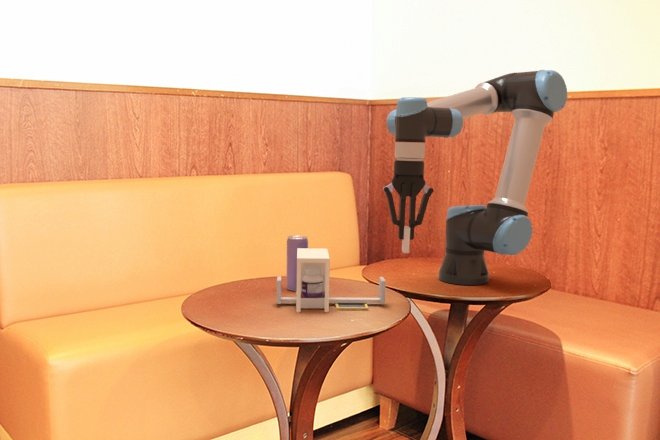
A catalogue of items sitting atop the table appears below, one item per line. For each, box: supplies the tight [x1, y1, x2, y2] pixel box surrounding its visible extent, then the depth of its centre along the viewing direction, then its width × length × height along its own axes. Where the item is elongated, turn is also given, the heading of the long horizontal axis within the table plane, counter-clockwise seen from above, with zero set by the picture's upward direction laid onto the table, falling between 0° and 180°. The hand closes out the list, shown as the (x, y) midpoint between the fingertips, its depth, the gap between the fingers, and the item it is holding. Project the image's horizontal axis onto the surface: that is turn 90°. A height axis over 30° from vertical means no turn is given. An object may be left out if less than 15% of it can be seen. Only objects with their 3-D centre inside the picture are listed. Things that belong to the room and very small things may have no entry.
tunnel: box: [295, 247, 331, 313], centre depth 165 cm, size 8×14×14 cm, turn 3°
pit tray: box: [334, 303, 369, 311], centre depth 166 cm, size 8×10×1 cm
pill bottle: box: [302, 266, 323, 298], centre depth 165 cm, size 5×5×10 cm
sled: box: [276, 275, 387, 309], centre depth 165 cm, size 28×8×7 cm, turn 93°
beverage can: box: [286, 234, 309, 292], centre depth 181 cm, size 6×6×15 cm
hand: (405, 252), depth 165 cm, fingers closed
